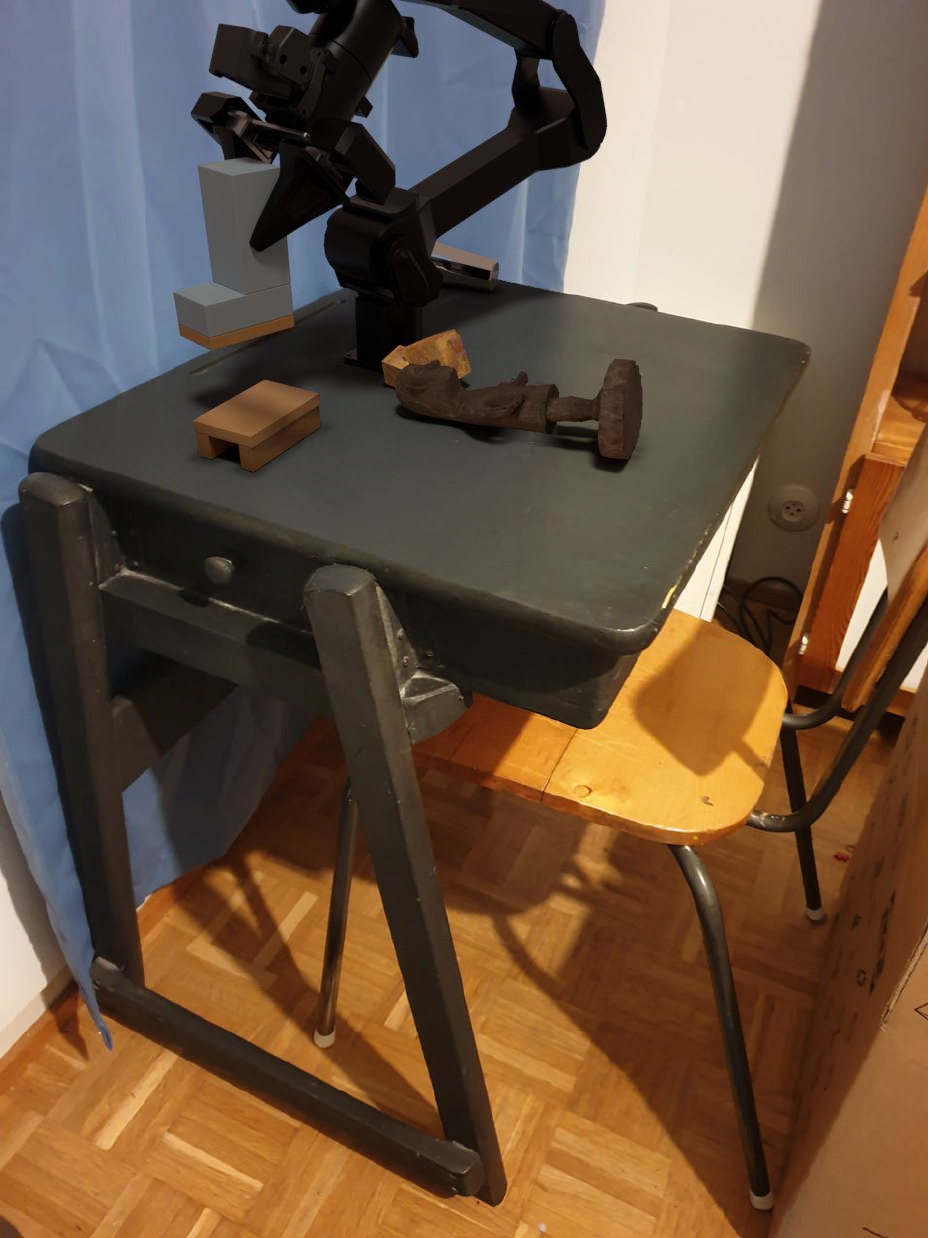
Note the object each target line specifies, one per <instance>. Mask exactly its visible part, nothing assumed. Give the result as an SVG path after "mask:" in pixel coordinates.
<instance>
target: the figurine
mask: <svg viewBox="0 0 928 1238" xmlns="http://www.w3.org/2000/svg"><path fill="white" fill-rule="evenodd" d="M528 383H529V375H528V373H526V372H525V371H519V373H518V375H517V377H516V378H515V379H514V380H513V381H510V382H508V381H501V382H499V384H497V385H493V386H486V387H483V388H481V387H480V388H475V389H472V390H469V389H466V388H464V387H463V386H462V385H461V382H460V379H459V378H458V373H457V371H456V369H455V368H452V367H450V366H441V364H440V360H438V359H437V360H433V361H431V362H430V363H428V364H425V365H416V364H411V365H407V366H405V367H404V368H403V369H402V370H401V371H400V372H399V373H398V375H397V377H396V379H395V387H394V393H395V396H396V399H397V400H398V401H399V403H400V404H401V405H402V406H403V407H404V408H406V409H407V410H409V411H411V412H413V413H416V414H418V415H423V416H427V417H431V418H438V419H443V420H448V421H455V422H460V423H466V424H471V425H472V424H473V425H477V426H478V425H479V426H486V427H494V428H495V427H496V428H504V429H510V430H511V429H512V430H519V431H524V432H532V433H540V434H545V435H552V434H554V431H555V428H556V425H557V423H559V422H561V423H562V422H569V423H584V422H589V421H594V422H597V423H598V433H597V445H598V449H599V453H600V455H601V456H602V457H603V458H609V459H610V458H611V459H617V460H629V459H630V456H631V455H632V454H633V449H634V447H636V444H637V441H638V439H639V434H640V431H641V427H642V420H643V406H644V401H643V396H644V395H643V394H644V391H643V386H642V374H641V373H640V366H639V365H638V364H637V361H636V360H634V359H624V358H615V359H613V360H612V362H611V363H610V364H609V365H608V367H607V370H606V372H605V375H604V378H603V381H602V386H601V388H600V390H599V391H598V393H597V394H596V396H595V397H594V398H592V399H591V398H583V397H579V396H574V395H569V396H563V397H560V390H559V388H558V386H557V385H556V384H555V383H549V384H548V383H547V384H540V385H536V384H535V385H533V384H528Z"/></svg>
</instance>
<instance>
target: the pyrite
mask: <svg viewBox="0 0 928 1238" xmlns="http://www.w3.org/2000/svg"><path fill="white" fill-rule="evenodd" d="M437 359H438V360H440V364H441V366H450V367H452V368H455V369H456V371H457V373H458V378H459V380H460V379H461V378H463V377H465V376H467V375H468V374H470V373H472V372H473V371H472V368H471V365H470V362H469V359H468V356H467V353H466V350H465V347H464V344H463V341H462V338H461V334H460V333H457V332H456V329H455V328H454V329H449V330H446V331H443V332H440V333H437V334H434V335H432V336H428V337H425V338H423V340H420V341H418V342H416V343H414V344H411V345H410V346H407V347H404V346H401V345H399V346H398V347H397V348H396V349H394V350H393V351H392V352H391V353H390V354H389V355H388V356H387V357H385V358H384V359H383V360H382V367H383V371H382V372H383V376H384V382H385V384H386V385H388V386H390V387H394V388H395V379H396V377H397V375H398V373H399V372H400V371H401V370H402V369H403V368H404V367H405V366H407V365H411V364H416V365H425V364H428V363H430V362H431V361H433V360H437Z"/></svg>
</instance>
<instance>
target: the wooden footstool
mask: <svg viewBox="0 0 928 1238" xmlns="http://www.w3.org/2000/svg"><path fill="white" fill-rule="evenodd" d="M320 397H321V395H320V392H316V391H312V390H308V389H304V388H300V387H296V386H292V385H288V384H285V383H280V382H276V381H272V380H267V379H263V380H261V381H260V382H258V383H256V384H255V385H252V386H250V387H249V388H248V389H245V390H244V391H242V392H241V393H238V394H237V395H235V396H233V397H231V398H229V399H228V400H226V401H225V402H223V403H221V404H219V405H217V406H215V407H214V408H212V409H211V410H208V411H207V412H205V413H204V414H202V415H200V416H198V417H196V418H195V419H193V420H192V424H193V429H194V430H193V431H194V433H195V437H196V444H197V449H198V456H199V457H201V458H205V459H208V460H213V459H215V458H216V457H218V456H220V455H221V454H223V453H224V452H226V451H228V450H229V449H231V448H232V447H234V446H236V445H238V452H239V460H240V468H241V469H243V470H246V471H249V472H253V473H254V472H256V471H258V470H259V469H261V468H262V467H264V466H265V465H267V464H268V463H270V462H271V461H272V460H274V459H275V458H278V456H280V455H282V454H283V453H284V452H286V451H287V450H289V449H291V447H293V446H295V445H296V444H298V443H300V442H301V441H302V440H304V439H305V438H307V437H308V436H310V435H311V434H313V433H314V432H316V431H317V430H319V429H320V428H321V427H322V426H321V425H322V423H321V410H320V409H321V408H320V405H321V398H320Z"/></svg>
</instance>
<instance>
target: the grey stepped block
mask: <svg viewBox="0 0 928 1238" xmlns="http://www.w3.org/2000/svg"><path fill="white" fill-rule="evenodd" d="M197 174H198V181H199V188H200V195H201V202H202V203H201V204H202V209H203V211H202V212H203V217H204V218H203V219H204V225H205V233H206V241H207V248H208V256H209V262H210V263H209V264H210V271H211V279H212V281H211V282H207V283H202V284H199V285H194V286H189V287H185V288H181V289H178V290H173V292H172V294H173V300H174V306H175V314H176V319H177V323H178V324H177V325H178V332H179V336H180V337H182V338H184V339H186V340H188V341H190V342H192V343H195V345H199V346H201V347H203V348H204V349H207V350H209V351H216V350H220V349H223V348H225V347H230V346H232V345H236V344H239V343H243V342H247V341H250V340H253V339H257V338H260V337H263V336H266V335H271V334H274V333H277V332H282V331H284V330H287V329H291V328H294V327H295V316H294V305H293V295H292V280H291V266H290V256H289V255H290V254H289V244H288V235H287V236H286V237H284V238H283V239H281V240H279V241H278V242H276V243H275V244H273V245H272V246H270V247H268V248H267V249H265V250H264V251H262V252H257V251H256V250H255V249H253V248H252V247H251V246H250V244H249V241H250V238H251V236H252V233H253V231H254V228H255V226H256V223H257V221H258V219H259V217H260V215H261V213H262V211H263V209H264V207H265V205H266V203H267V200H268V198H269V196H270V194H271V192H272V190H273V188H274V186H275V184H276V182H277V180H278V178H279V175H280V165H275V164H273V163H272V164H269V163H265V162H262V161H258V160H255V159H251V158H248V157H243V158H237V159H230V160H224V159H223V160H217V161H212V162H205V163H199V164H197Z"/></svg>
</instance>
